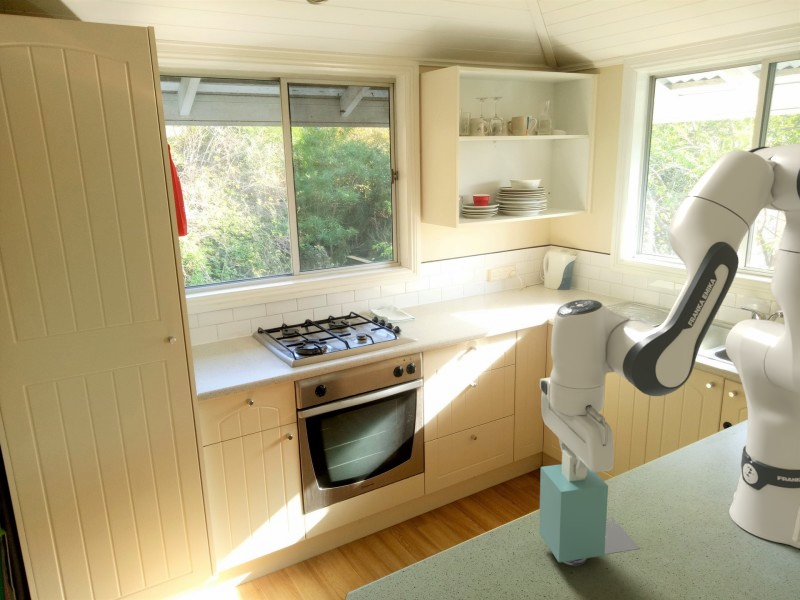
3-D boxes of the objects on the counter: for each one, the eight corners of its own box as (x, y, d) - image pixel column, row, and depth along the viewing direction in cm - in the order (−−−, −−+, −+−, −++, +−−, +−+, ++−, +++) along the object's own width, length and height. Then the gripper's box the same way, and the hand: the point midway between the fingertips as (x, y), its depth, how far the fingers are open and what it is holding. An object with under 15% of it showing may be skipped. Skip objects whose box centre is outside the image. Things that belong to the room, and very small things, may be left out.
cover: (581, 526, 113) (585, 439, 108) (604, 555, 105) (609, 462, 100) (539, 533, 111) (541, 444, 107) (558, 562, 103) (561, 468, 99)
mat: (612, 518, 119) (612, 517, 119) (640, 549, 110) (640, 548, 110) (565, 525, 118) (565, 524, 118) (589, 558, 108) (589, 556, 108)
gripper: (626, 418, 92) (622, 499, 95) (567, 373, 111) (565, 441, 115) (588, 423, 91) (585, 504, 94) (535, 376, 110) (534, 445, 114)
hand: (573, 469), depth 104 cm, fingers closed on cover, 3 cm apart
